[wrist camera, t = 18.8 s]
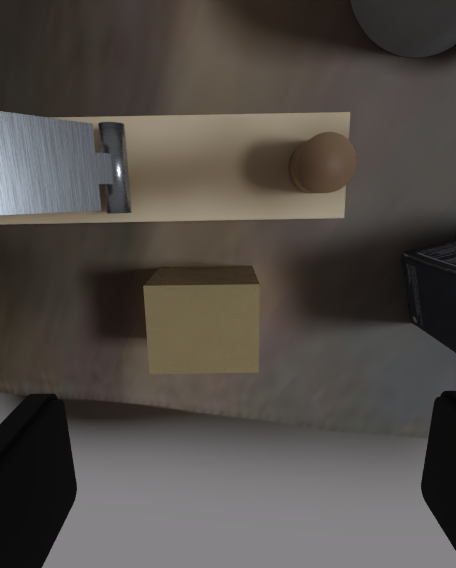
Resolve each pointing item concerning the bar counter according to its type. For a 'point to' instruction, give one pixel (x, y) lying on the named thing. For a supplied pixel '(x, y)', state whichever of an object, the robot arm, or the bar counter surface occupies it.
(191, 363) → the olive cube-like block
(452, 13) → the coffee mug
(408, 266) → the small box
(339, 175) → the wooden block plane
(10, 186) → the lever
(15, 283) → the bar counter surface
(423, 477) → the robot arm
